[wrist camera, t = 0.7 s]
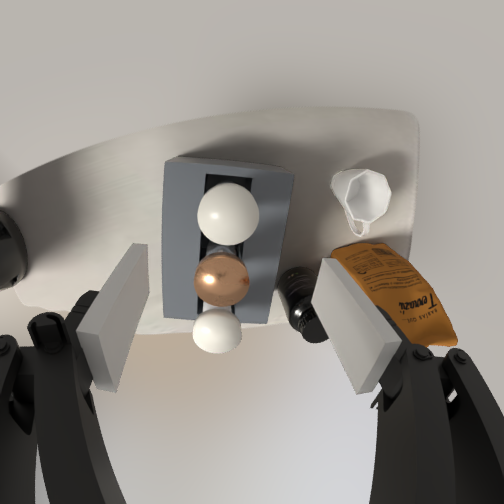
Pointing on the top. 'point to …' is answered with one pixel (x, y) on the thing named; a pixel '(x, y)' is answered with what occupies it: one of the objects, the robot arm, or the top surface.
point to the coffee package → (398, 292)
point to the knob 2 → (217, 329)
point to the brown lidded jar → (221, 276)
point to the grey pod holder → (195, 242)
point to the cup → (361, 196)
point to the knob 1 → (228, 213)
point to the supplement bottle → (301, 303)
